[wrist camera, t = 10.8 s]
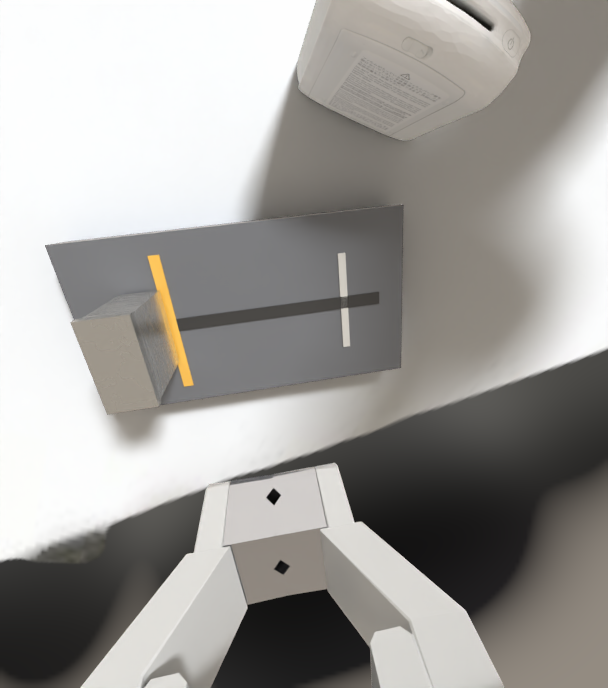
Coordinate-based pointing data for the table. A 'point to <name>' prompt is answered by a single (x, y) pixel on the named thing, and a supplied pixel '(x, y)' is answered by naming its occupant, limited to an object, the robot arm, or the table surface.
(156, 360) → the fader
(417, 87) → the photo printer
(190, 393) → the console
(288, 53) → the table surface
